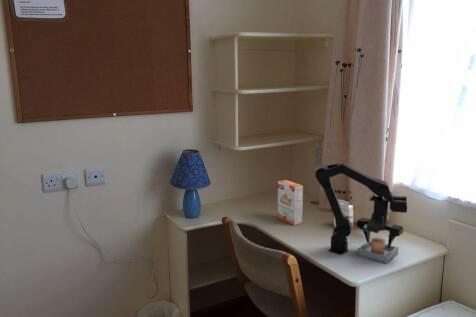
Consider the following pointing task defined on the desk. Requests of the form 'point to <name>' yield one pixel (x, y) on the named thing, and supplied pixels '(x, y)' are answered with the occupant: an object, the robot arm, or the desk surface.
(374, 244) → the terracotta cup
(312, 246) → the desk surface
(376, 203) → the robot arm
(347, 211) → the ink cartridge box
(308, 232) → the desk surface
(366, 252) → the tray
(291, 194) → the cracker box
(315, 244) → the desk surface
